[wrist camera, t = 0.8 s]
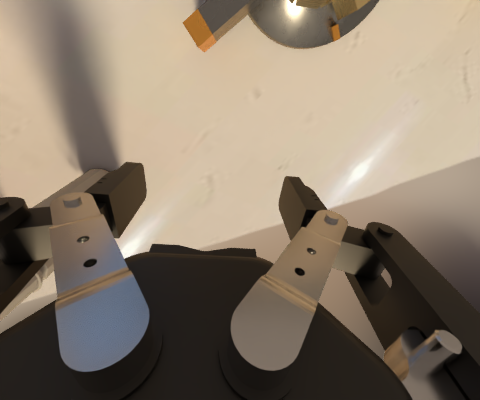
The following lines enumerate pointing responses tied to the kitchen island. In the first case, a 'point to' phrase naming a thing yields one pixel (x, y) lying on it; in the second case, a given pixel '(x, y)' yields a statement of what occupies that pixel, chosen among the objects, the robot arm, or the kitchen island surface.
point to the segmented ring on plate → (240, 5)
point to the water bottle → (36, 282)
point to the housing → (304, 23)
